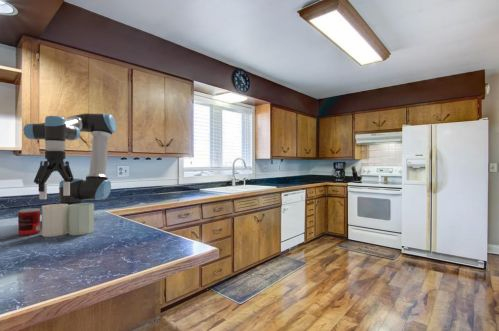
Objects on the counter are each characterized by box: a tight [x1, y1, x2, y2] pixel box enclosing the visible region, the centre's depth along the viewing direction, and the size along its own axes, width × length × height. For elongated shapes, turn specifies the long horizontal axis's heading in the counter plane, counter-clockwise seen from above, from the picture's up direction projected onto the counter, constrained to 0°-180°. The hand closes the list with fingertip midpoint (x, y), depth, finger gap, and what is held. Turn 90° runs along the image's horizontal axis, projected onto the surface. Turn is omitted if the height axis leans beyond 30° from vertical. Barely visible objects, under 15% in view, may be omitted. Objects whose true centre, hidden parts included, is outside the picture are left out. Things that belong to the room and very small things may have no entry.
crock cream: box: [41, 203, 69, 238], centre depth 120 cm, size 10×10×13 cm
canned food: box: [17, 207, 41, 237], centre depth 121 cm, size 8×8×11 cm
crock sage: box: [67, 202, 95, 236], centre depth 123 cm, size 10×10×13 cm
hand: (55, 197), depth 120 cm, fingers open, 13 cm apart
